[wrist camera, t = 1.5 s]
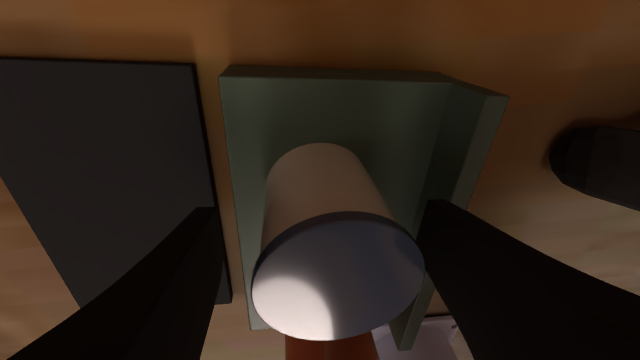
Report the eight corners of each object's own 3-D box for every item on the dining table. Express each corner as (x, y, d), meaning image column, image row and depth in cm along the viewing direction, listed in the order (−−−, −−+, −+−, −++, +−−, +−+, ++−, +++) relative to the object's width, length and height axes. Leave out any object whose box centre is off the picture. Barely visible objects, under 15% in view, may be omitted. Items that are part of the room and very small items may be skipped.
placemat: (232, 295, 18) (231, 303, 17) (89, 306, 17) (83, 315, 16) (195, 63, 11) (191, 65, 10) (-55, 54, 10) (-74, 56, 9)
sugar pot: (364, 230, 13) (405, 333, 9) (263, 235, 12) (256, 348, 8) (380, 138, 11) (447, 216, 6) (257, 137, 10) (241, 225, 6)
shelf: (385, 284, 19) (411, 350, 15) (253, 294, 18) (246, 368, 14) (438, 71, 12) (511, 96, 8) (229, 64, 11) (202, 88, 7)
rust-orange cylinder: (353, 311, 16) (381, 422, 12) (284, 317, 16) (286, 436, 11) (361, 262, 14) (399, 374, 10) (283, 267, 14) (285, 388, 9)
